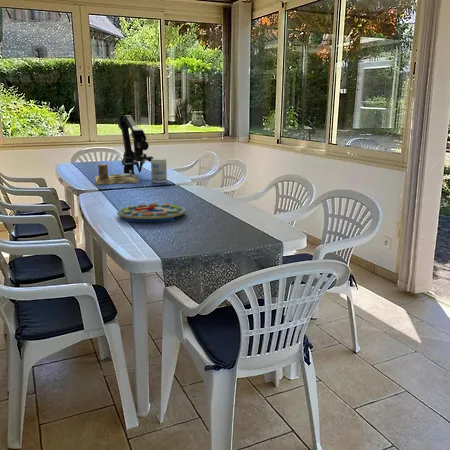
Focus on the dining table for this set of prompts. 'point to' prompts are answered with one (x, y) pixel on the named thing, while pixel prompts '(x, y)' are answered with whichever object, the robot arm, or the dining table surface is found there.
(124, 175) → the slide cover
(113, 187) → the dining table surface
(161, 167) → the supplement tub
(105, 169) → the walnut block
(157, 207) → the shape sorting clock
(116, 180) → the puzzle board
